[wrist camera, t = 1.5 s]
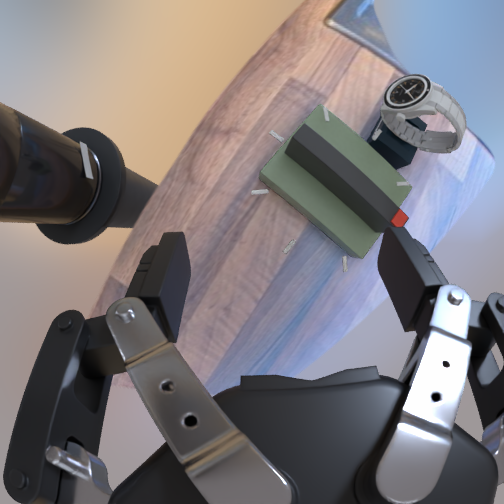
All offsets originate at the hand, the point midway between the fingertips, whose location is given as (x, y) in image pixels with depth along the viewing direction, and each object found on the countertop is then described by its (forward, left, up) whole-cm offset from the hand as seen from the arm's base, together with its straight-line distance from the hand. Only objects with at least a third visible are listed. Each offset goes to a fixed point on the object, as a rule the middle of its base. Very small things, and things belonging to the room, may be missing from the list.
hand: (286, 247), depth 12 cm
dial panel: (+2, +9, -17) cm, 19 cm away
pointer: (+2, +8, -14) cm, 16 cm away
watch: (+4, +17, -17) cm, 25 cm away
